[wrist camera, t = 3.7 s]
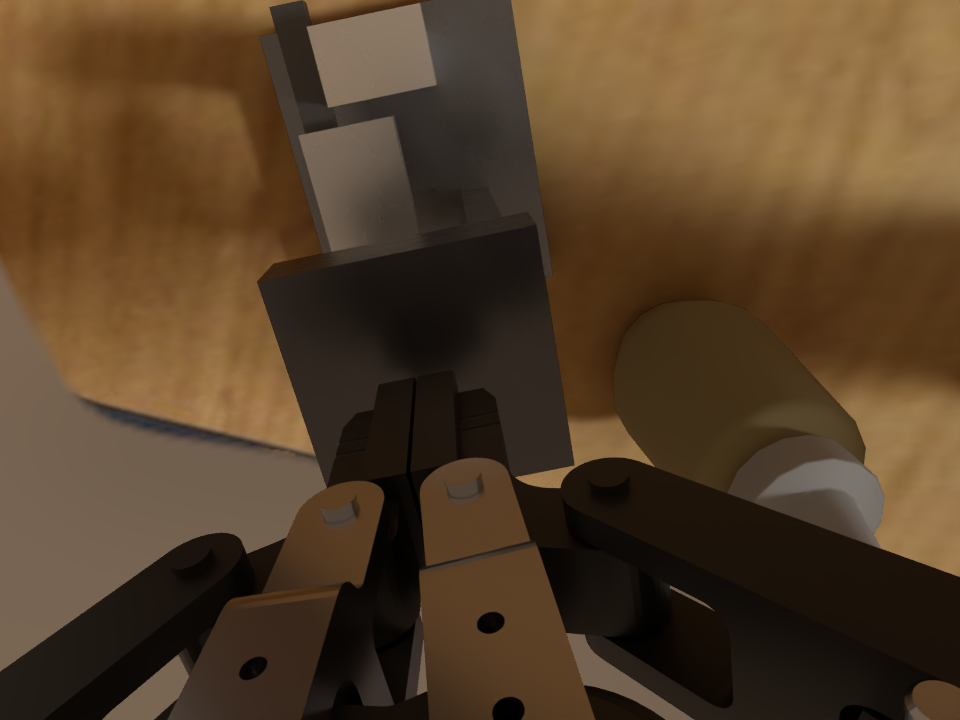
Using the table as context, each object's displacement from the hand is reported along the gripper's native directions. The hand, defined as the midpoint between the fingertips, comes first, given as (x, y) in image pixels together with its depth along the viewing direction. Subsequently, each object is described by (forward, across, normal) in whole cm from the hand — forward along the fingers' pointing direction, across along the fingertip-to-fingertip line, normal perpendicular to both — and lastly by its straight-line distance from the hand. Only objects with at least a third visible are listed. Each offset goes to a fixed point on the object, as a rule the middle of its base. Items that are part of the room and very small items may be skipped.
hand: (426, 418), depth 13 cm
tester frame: (+20, 0, -3) cm, 20 cm away
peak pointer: (+11, +2, -6) cm, 13 cm away
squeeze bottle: (+20, -11, +9) cm, 24 cm away
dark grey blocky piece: (+12, 0, -1) cm, 12 cm away
